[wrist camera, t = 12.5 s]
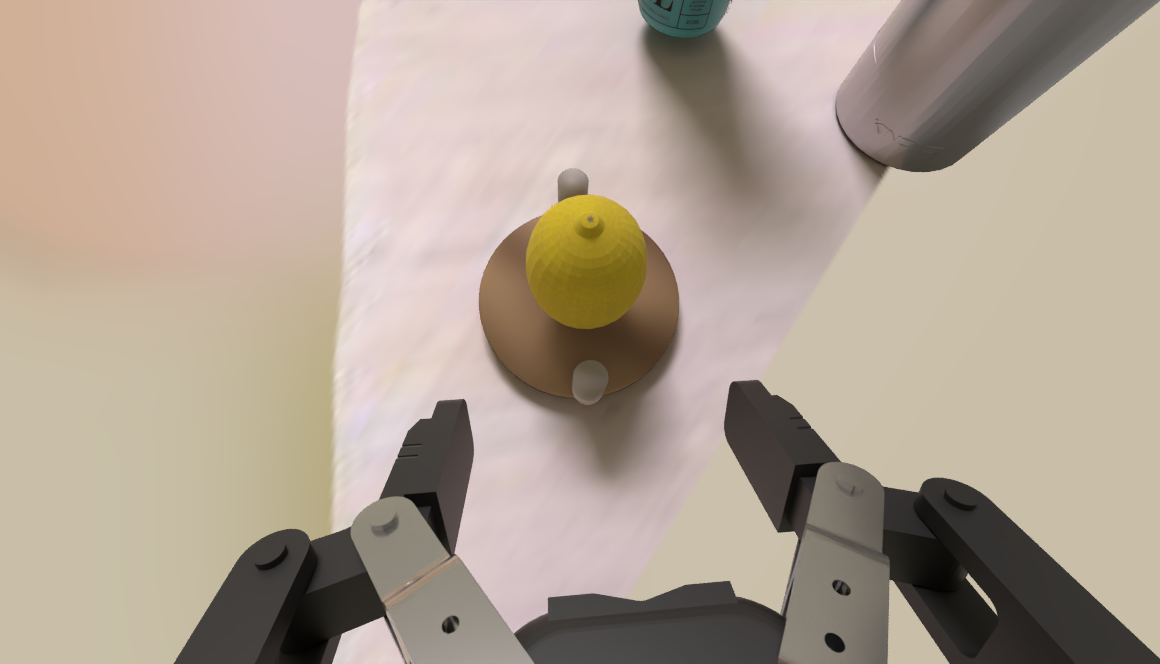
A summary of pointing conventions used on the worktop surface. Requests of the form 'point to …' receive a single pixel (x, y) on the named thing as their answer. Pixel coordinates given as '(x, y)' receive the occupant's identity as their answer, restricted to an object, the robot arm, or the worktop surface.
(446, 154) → the worktop surface
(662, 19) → the beverage bottle
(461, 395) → the worktop surface
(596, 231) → the lemon
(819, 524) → the robot arm
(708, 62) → the worktop surface
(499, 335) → the pin dish
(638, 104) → the worktop surface
